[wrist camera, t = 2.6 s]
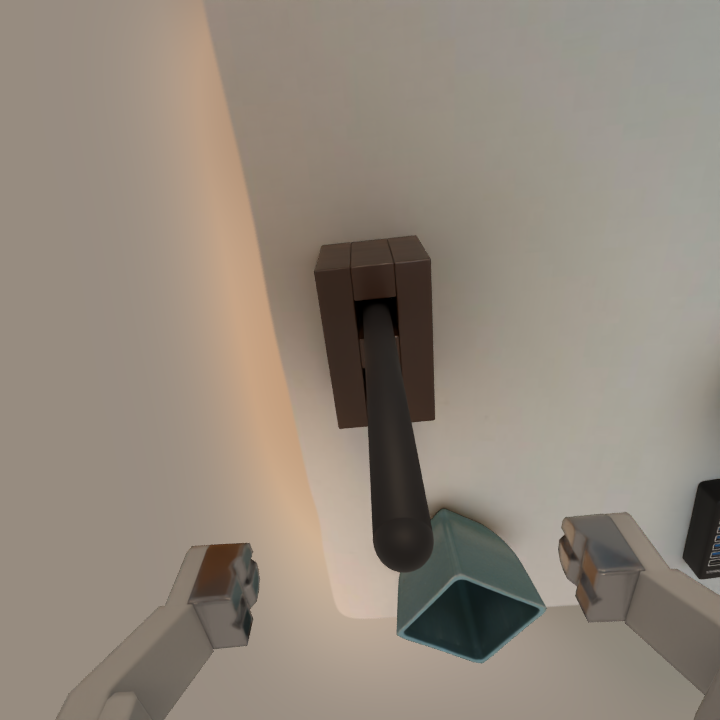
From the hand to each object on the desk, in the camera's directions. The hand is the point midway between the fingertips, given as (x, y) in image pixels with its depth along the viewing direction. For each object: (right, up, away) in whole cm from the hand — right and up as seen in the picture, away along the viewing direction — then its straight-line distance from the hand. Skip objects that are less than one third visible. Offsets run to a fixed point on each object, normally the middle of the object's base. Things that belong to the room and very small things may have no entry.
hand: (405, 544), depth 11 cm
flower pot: (+7, -12, +31) cm, 34 cm away
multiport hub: (+33, -11, +30) cm, 46 cm away
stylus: (0, +10, +19) cm, 21 cm away
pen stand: (0, +8, +20) cm, 22 cm away
